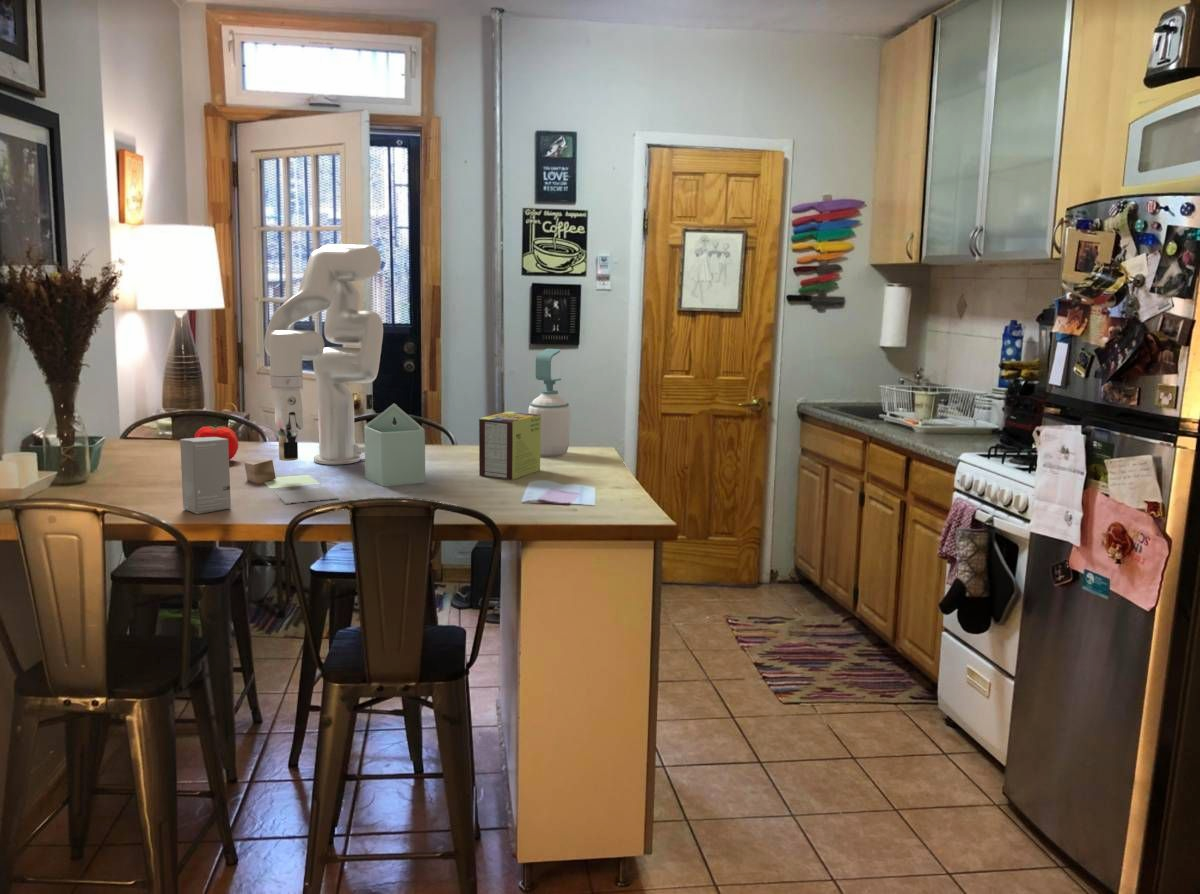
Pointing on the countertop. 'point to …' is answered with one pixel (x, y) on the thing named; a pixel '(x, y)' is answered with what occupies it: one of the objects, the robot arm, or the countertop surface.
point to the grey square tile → (305, 495)
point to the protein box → (509, 445)
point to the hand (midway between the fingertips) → (288, 455)
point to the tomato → (220, 436)
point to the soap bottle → (551, 409)
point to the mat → (291, 481)
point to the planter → (394, 449)
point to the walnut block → (260, 470)
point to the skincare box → (205, 474)
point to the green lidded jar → (281, 446)
